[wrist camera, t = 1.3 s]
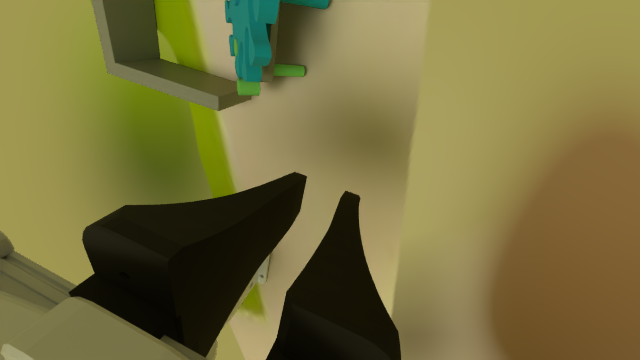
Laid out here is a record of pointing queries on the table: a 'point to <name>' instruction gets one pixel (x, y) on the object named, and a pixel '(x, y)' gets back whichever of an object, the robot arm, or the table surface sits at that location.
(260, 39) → the gear
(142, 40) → the housing
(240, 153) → the table surface
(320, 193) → the table surface
